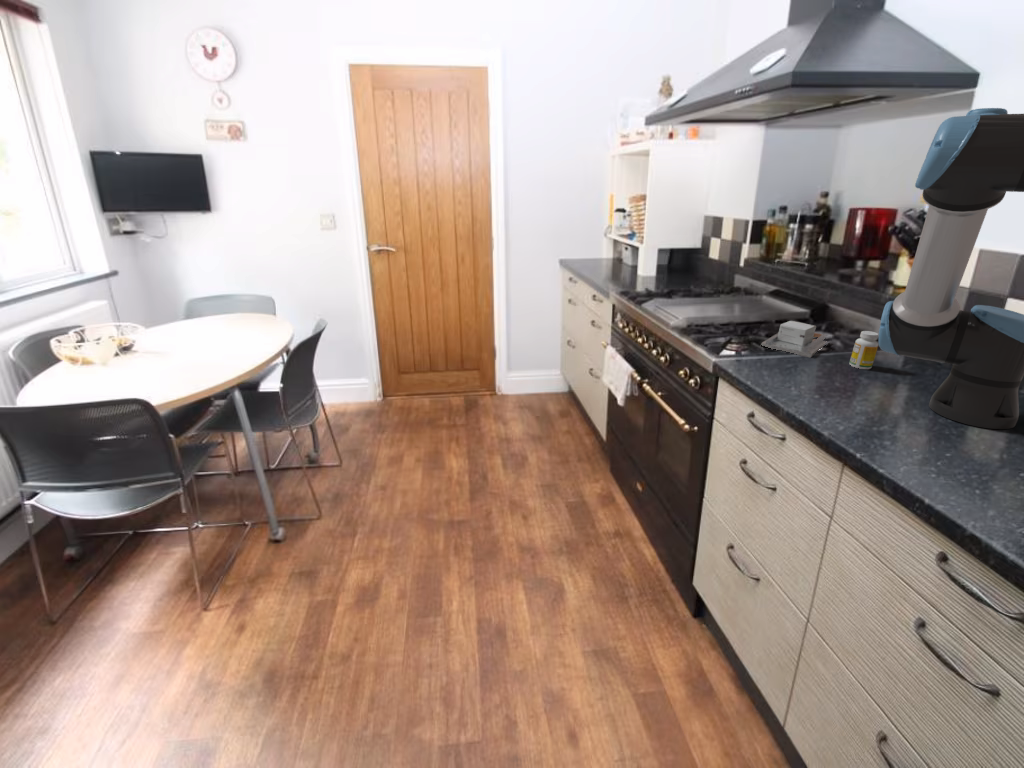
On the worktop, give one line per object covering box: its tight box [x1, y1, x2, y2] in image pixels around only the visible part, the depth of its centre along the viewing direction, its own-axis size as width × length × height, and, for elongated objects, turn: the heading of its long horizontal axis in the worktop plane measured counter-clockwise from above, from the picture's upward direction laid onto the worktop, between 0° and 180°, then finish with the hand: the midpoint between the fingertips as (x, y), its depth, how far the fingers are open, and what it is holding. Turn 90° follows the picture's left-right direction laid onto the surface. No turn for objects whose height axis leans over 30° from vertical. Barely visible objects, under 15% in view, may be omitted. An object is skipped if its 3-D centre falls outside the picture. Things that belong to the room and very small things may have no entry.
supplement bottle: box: [848, 330, 879, 370], centre depth 146 cm, size 5×5×10 cm
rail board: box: [760, 332, 827, 359], centre depth 164 cm, size 20×14×2 cm
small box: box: [777, 320, 817, 346], centre depth 164 cm, size 8×8×5 cm
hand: (934, 280), depth 137 cm, fingers closed
